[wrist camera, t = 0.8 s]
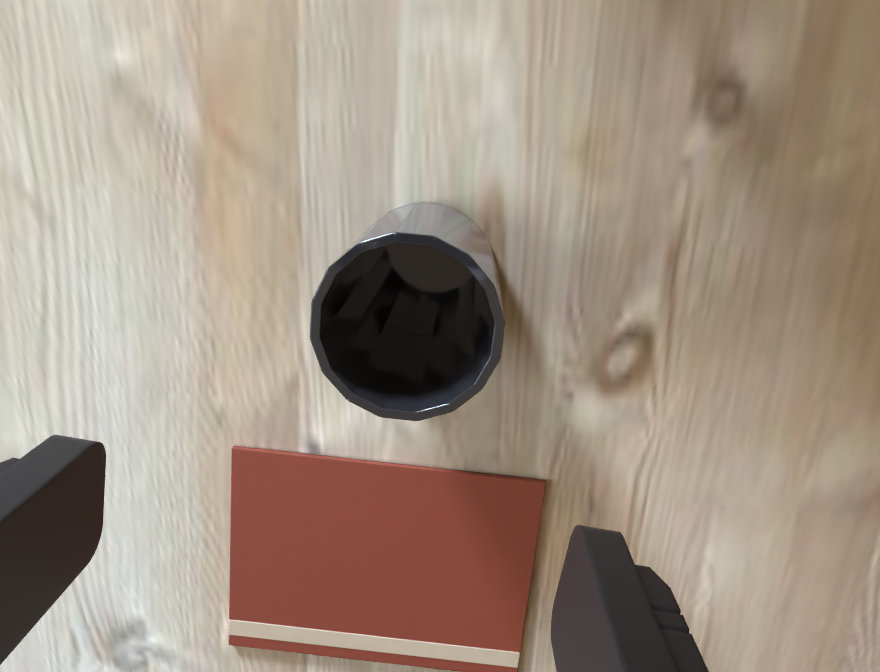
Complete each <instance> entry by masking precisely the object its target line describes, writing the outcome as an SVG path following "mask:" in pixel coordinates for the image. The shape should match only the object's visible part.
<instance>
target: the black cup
mask: <svg viewBox="0 0 880 672" xmlns="http://www.w3.org/2000/svg"><path fill="white" fill-rule="evenodd" d="M504 328H505V317H504V311H503V304H502V297H501V291H500V284H499V277H498V271H497V266H496V262H495V259H494V255H493V251H492V248H491V245H490V242H489V240H488V239H487V238H486V236H485V234H484V233H483V231H482V230H481V229H480V228H479V226H478V225H477V224H476V223H475V222H474V221H473V220H471V219H470V218H469V217H468V216H466V215H465V214H463V213H462V212H460V211H458V210H456V209H454V208H452V207H449V206H446V205H443V204H438V203H428V202H422V203H413V204H409V205H405V206H402V207H399V208H397V209H395V210H391V211H390V212H388V213H387V214H386V215H385V216H384V217H382V218H381V219H380V220H379V221H378V222H376V223H375V224H374V225H373V226H372V227H371V228H369V229H368V230H367V231H366V232H365V233H364V234H363V235H362V236H361V237H360V238H359V239H358V240H357V241H356V242H355V243H354V244H353V245H351V246H350V247H349V248H348V249H347V250H346V251H345V252H344V253H343V254H342V255H341V256H340V257H339V258H338V259H337V260H336V261H335V262H334V263H333V264H332V265H330V266H329V268H328V269H327V271H326V273H325V275H324V277H323V279H322V281H321V283H320V285H319V287H318V289H317V291H316V293H315V295H314V297H313V299H312V302H311V323H310V340H311V343H312V345H313V348H314V351H315V354H316V356H317V359H318V362H319V365H320V367H321V370H322V372H323V374H324V375H325V376H326V377H327V378H328V379H329V380H330V382H331V383H332V384H333V385H334V386H335V387H336V388H337V389H338V390H339V392H340V393H341V394H342V395H343V396H344V397H345V398H346V399H347V400H348V401H350V402H352V403H354V404H356V405H357V406H359V407H361V408H363V409H365V410H367V411H369V412H371V413H373V414H375V415H377V416H379V417H383V418H393V419H402V420H411V421H420V420H424V419H427V418H431V417H435V416H439V415H442V414H446V413H450V412H452V411H454V410H456V409H457V408H458V407H460V406H461V405H462V404H464V403H465V402H466V401H468V400H469V399H471V398H472V397H473V396H475V395H476V394H477V393H479V392H480V391H481V390H482V389H483V387H484V386H485V384H486V382H487V381H488V379H489V377H490V376H491V374H492V372H493V371H494V369H495V367H496V365H497V364H498V362H499V360H500V358H501V352H502V344H503V336H504Z"/></svg>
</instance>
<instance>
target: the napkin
mask: <svg viewBox="0 0 880 672" xmlns="http://www.w3.org/2000/svg"><path fill="white" fill-rule="evenodd" d="M545 487H546V480H539V479H530V478H521V477H512V476H503V475H494V474H484V473H475V472H466V471H457V470H448V469H439V468H430V467H421V466H412V465H402V464H393V463H384V462H375V461H366V460H357V459H348V458H339V457H330V456H320V455H311V454H302V453H293V452H284V451H275V450H266V449H257V448H247V447H238V446H233V448H232V473H231V540H230V608H229V645H235V646H244V647H252V648H261V649H270V650H278V651H287V652H296V653H304V654H313V655H322V656H330V657H339V658H348V659H357V660H365V661H374V662H383V663H391V664H400V665H409V666H417V667H426V668H435V669H443V670H452V671H461V672H517V669H518V663H519V657H520V649H521V643H522V636H523V630H524V623H525V617H526V610H527V604H528V597H529V591H530V584H531V578H532V571H533V565H534V558H535V552H536V545H537V539H538V532H539V526H540V519H541V513H542V506H543V500H544V493H545Z"/></svg>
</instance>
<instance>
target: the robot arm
mask: <svg viewBox="0 0 880 672" xmlns="http://www.w3.org/2000/svg"><path fill="white" fill-rule="evenodd" d="M105 467H106V452H105V448H104V445H103V444H102V443H100V442H96V441H90V440H84V439H78V438H72V437H66V436H60V435H53V436H51V437H49V438H48V439H46V440H45V441H44V442H42V443H41V444H40V445H38V446H37V447H36V448H34V449H33V450H32V451H30V452H29V453H27V454H26V455H25V456H23V457H22V458H21V459H17V458H12V459H9V460H6V461H4V462H1V463H0V665H1V663H2V662H3V661H4V660H5V659H6V658H7V656H8V655H9V654H10V653H11V652H12V651H13V650H14V648H15V647H16V646H17V645H18V644H19V643H20V642H21V640H22V639H23V638H24V637H25V636H26V635H27V633H28V632H29V631H30V630H31V629H32V628H33V627H34V625H35V624H36V623H37V622H38V621H39V620H40V618H41V617H42V616H43V615H44V614H45V613H46V612H47V610H48V609H49V608H50V607H51V606H52V605H53V604H54V602H55V601H56V600H57V599H58V598H59V597H60V595H61V594H62V593H63V592H64V591H65V590H66V589H67V587H68V586H69V585H70V584H71V583H72V582H73V581H74V579H75V578H76V577H77V576H78V575H79V574H80V572H81V571H82V570H83V569H84V568H85V567H86V566H87V564H88V563H89V562H90V560H91V559H92V557H93V555H94V553H95V551H96V549H97V546H98V543H99V540H100V537H101V533H102V526H103V508H104V488H105ZM680 612H681V610H680V608H679V606H678V604H677V602H676V599H675V597H674V595H673V593H672V591H671V588H670V587H669V586H668V585H667V584H666V583H665V582H664V581H663V580H662V579H661V578H660V577H659V576H658V575H657V574H656V573H655V572H654V571H653V570H652V569H651V568H650V567H646V566H640V565H635V564H634V562H633V559H632V557H631V554H630V552H629V549H628V547H627V545H626V542H625V540H624V537H623V535H622V534H621V533H620V532H616V531H611V530H605V529H599V528H593V527H587V526H581V525H577V526H575V528H574V530H573V532H572V535H571V538H570V542H569V545H568V549H567V553H566V557H565V561H564V565H563V569H562V573H561V577H560V581H559V585H558V589H557V593H556V597H555V601H554V605H553V611H552V620H551V641H552V648H553V653H554V659H555V665H556V670H557V672H709V671H708V669H707V667H706V665H705V663H704V660H703V658H702V656H701V654H700V652H699V650H698V647H697V645H696V643H695V641H694V639H693V636H692V634H689V628H688V626H687V623H686V621H685V619H684V617H683V615H680Z"/></svg>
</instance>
